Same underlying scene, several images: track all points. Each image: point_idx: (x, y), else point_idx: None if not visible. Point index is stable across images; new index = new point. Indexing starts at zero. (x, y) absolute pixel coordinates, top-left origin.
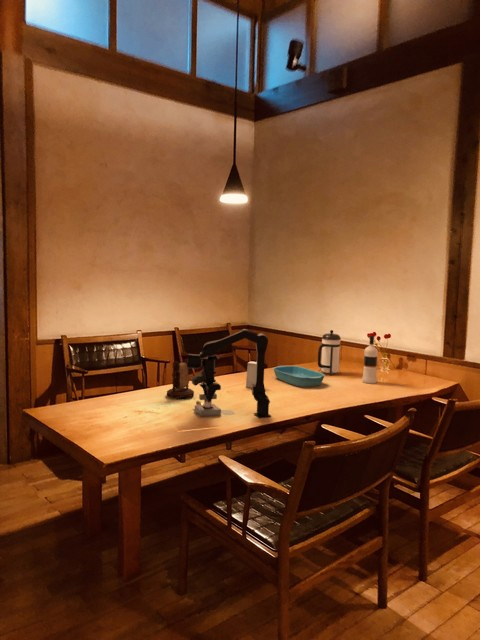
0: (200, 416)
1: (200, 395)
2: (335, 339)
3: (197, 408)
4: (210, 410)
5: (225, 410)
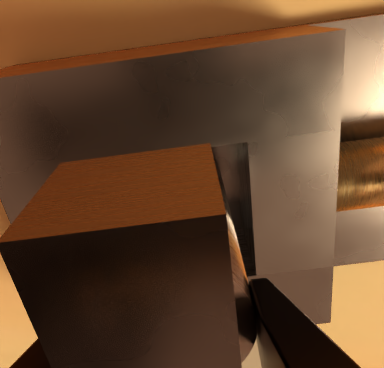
0: (26, 65)
1: (65, 229)
2: None
3: (168, 53)
4: None
5: (251, 355)
